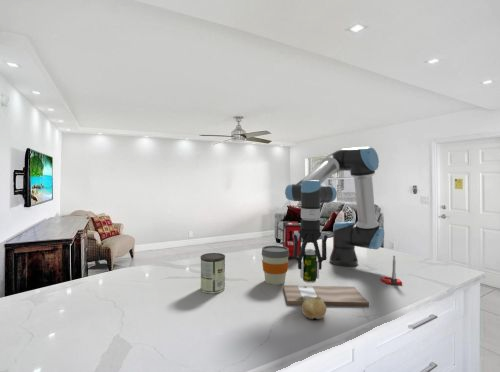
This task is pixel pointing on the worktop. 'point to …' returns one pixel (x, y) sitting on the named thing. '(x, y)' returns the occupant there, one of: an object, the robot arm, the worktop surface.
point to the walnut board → (325, 295)
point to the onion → (314, 307)
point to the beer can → (309, 265)
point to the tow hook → (393, 278)
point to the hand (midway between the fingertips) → (309, 277)
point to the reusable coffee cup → (275, 264)
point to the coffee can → (212, 273)
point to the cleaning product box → (291, 237)
